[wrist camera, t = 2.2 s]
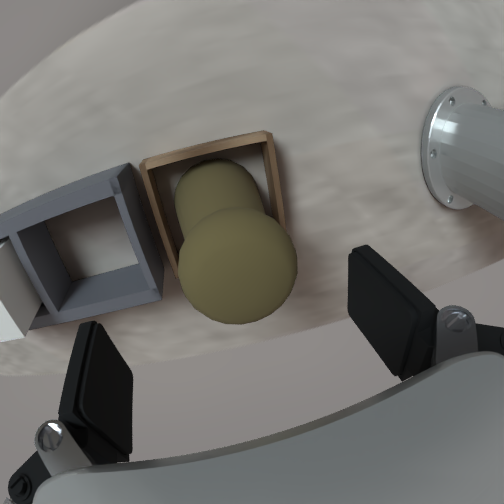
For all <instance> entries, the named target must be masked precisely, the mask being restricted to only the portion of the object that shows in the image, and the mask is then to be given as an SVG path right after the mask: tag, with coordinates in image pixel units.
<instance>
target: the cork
mask: <svg viewBox="0 0 504 504" xmlns="http://www.w3.org/2000/svg"><path fill="white" fill-rule="evenodd" d="M174 205H175V210H176V214H177V218H178V221H179V224H180V227H181V230H182V233H183V236H184V239H185V241H184V243H183V245H182V247H181V249H180V254H179V263H178V276H179V280H180V283H181V287H182V290H183V292H184V294H185V296H186V298H187V299H188V300H189V302H190V303H191V304H192V306H193V307H194V308H195V309H196V310H198V311H199V312H201V313H202V314H204V315H205V316H207V317H208V318H210V319H212V320H215V321H218V322H221V323H225V324H246V323H251V322H255V321H258V320H260V319H262V318H264V317H266V316H268V315H271V314H272V313H273V312H274V311H275V310H277V309H278V308H279V307H280V306H281V305H282V304H283V303H284V302H285V300H286V299H287V297H288V296H289V294H290V293H291V291H292V288H293V286H294V282H295V279H296V276H297V255H296V250H295V248H294V245H293V243H292V241H291V238H290V236H289V235H288V233H287V232H286V231H285V230H284V229H283V228H282V227H281V226H280V225H279V224H278V222H277V221H276V220H275V219H274V218H272V217H270V216H268V215H266V214H265V211H264V208H263V205H262V201H261V198H260V195H259V192H258V189H257V186H256V184H255V182H254V180H253V177H252V175H251V174H250V173H249V172H248V171H247V170H246V169H245V168H244V167H243V166H241V165H239V164H237V163H235V162H233V161H231V160H225V159H218V158H216V159H210V160H205V161H202V162H200V163H198V164H196V165H194V166H192V167H191V168H190V169H189V170H188V171H187V172H186V173H185V174H184V175H183V176H182V177H181V179H180V181H179V183H178V185H177V187H176V189H175V197H174Z"/></svg>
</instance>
